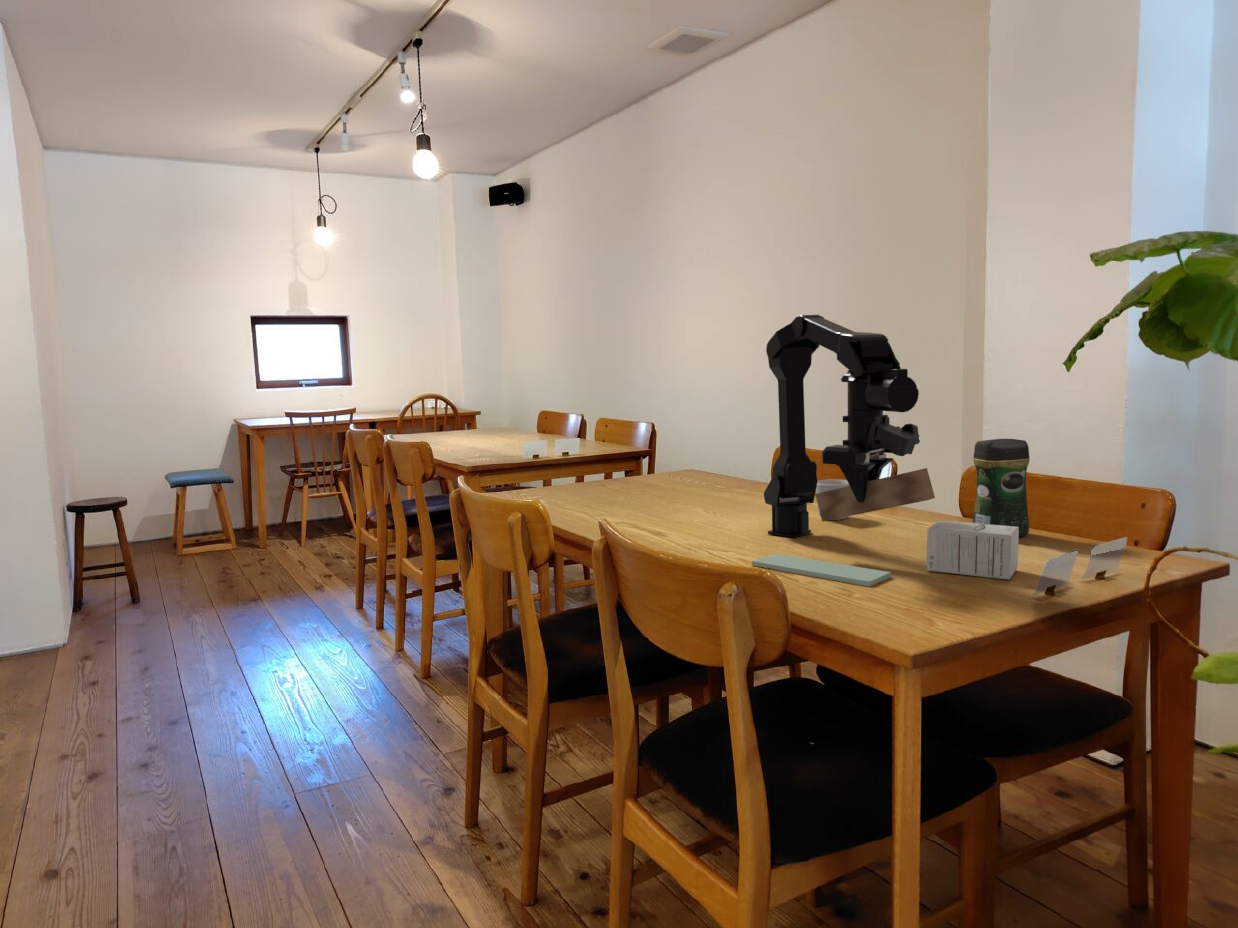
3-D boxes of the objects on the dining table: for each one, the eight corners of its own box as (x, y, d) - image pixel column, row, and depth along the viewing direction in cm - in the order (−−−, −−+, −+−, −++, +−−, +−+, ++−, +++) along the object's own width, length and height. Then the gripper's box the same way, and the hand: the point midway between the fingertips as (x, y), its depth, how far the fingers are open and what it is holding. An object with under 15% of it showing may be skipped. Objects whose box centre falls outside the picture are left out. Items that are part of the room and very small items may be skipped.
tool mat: (751, 565, 144) (751, 561, 144) (774, 557, 149) (774, 553, 149) (869, 586, 129) (869, 581, 129) (890, 577, 134) (890, 572, 134)
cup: (860, 523, 176) (860, 486, 175) (822, 525, 176) (822, 487, 175) (847, 514, 186) (847, 478, 185) (811, 515, 187) (811, 479, 186)
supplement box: (937, 519, 141) (1019, 525, 134) (936, 562, 142) (1018, 570, 135) (926, 526, 135) (1012, 534, 128) (925, 571, 136) (1010, 581, 129)
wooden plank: (822, 521, 148) (815, 493, 148) (829, 519, 149) (822, 492, 150) (928, 500, 133) (920, 469, 134) (935, 497, 135) (926, 467, 136)
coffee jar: (1009, 528, 166) (1011, 435, 163) (1035, 537, 158) (1038, 439, 156) (964, 532, 164) (966, 438, 162) (989, 540, 156) (991, 442, 154)
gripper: (883, 414, 128) (883, 514, 130) (936, 406, 142) (934, 497, 144) (819, 413, 136) (820, 507, 138) (875, 405, 149) (874, 491, 151)
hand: (865, 500), depth 143 cm, fingers closed on wooden plank, 2 cm apart
